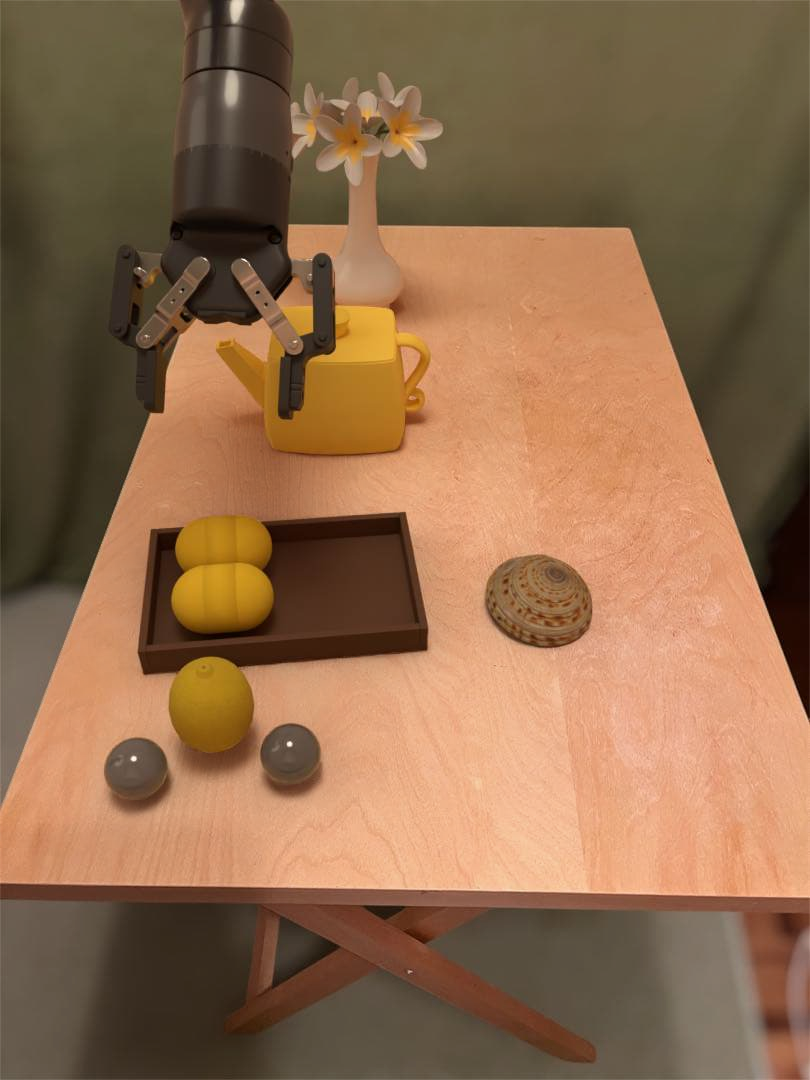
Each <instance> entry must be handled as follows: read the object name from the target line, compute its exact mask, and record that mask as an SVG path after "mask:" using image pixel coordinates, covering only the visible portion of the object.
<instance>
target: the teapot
mask: <svg viewBox="0 0 810 1080" xmlns="http://www.w3.org/2000/svg"><path fill="white" fill-rule="evenodd" d="M280 309H281V310H282V312H283V313H284V315H285V316H286V318H287V319H288V321H289V322H290V324H291V325H292V327H293V328H294V329H295V331H296V332H297V334H298V335H299V336H302V335H305V334H308V333H312V332H313V305H301V306H300V305H297V306H296V305H295V306H285V307H280ZM335 315H336V348H335V351H334V352H333V353H332V354H330V355H324V354H323V355H319V356H316V357H313V358H311V359H310V360H309V361H308V362H307V364H306V372H305V392H304V405H303V407H302V409H301V411H294V415H293V420H285V419H281V418H280V417H279V416H278V396H279V376H280V357H284V355H285V349H284V348H283V346H282V345H281V343H280V342H279V340H278V339H277V338H276V336H275V335H274V333H273V332H272V331H271V333H270V338H269V343H268V344H269V346H268V351H267V358H266V361H263V360H262V359H261V358H259V357H258V356H257V355H255V354H254V353H252V352H251V351H249V350H248V349H247V348H246V347H244V346H242V345H241V344H240V343H238V342H237V341H236V339H235V338H229V339H224V340H218V341H216V342H215V352H216V354H218V357H220V359H222V361H223V362H224V363H225V365H226V366H227V367H228V368H229V369H230V371H231V372H232V373H233V374H234V375H235V377H236V378H237V379H238V381H239V382H240V383H241V384H242V386H243V387H244V388H245V389H246V390H247V392H248V393H249V394H250V395H251V396H252V398H253V399H254V401H255V402H256V403H257V404H258V405H259V407H260V408H261V409H263V415H264V417H263V418H264V420H263V421H264V430H265V433H266V436H267V439H268V441H269V443H270V446H271V447H272V449H273V450H276V451H278V452H284V453H294V454H309V455H310V454H311V455H330V456H331V455H336V456H337V455H338V456H339V455H357V454H358V455H359V454H362V455H363V454H375V453H376V454H377V453H386V452H391V451H395V450H397V449H399V447H400V445H401V442H402V440H403V436H404V433H405V429H406V428H405V427H406V426H405V425H406V413H414V412H418V411H420V410H421V409H422V408H423V407H424V405H425V402H426V395H425V392H424V391H423V390H422V389H421V388H419V387H417V386H418V385H419V384H420V382H421V381H422V380H423V378H424V377H425V374H426V373H427V371H428V369H429V366H430V363H431V352H430V351H431V350H430V348H429V346H428V345H427V344H426V342H425V341H424V340H423V339H422V338H420V337H419V336H417V335H415V334H413V333H409V332H399V331H398V326H397V321H396V317H395V316H396V315H395V313H394V311H393V310H392V309H390V308H389V309H387V308H380V307H366V306H338V305H335ZM401 347H407V348H411V349H413V350H415V351H417V353H419V360H418V362H417V364H416V366H415V368H414V369H413V371H412V372H411V374H410V375H409V376H408V378H407V379H406V381H405V370H404V363H403V361H404V360H403V354H402V348H401ZM410 397H416V398H415V399H409V398H410Z"/></svg>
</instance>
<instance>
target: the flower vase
mask: <svg viewBox="0 0 810 1080" xmlns="http://www.w3.org/2000/svg"><path fill="white" fill-rule="evenodd" d="M377 84H378V87H379V91H380V96H381V97H379V96H376V95H375V94H376V91H375V89H369V90H367V91H363V92H360V94H359V81H358V78H357V77H355V76H354V77H350V78H349V79H348V80H347V82H346V83H345V85H344V87H343V89H342V93H341V99H337V98H336V99H328V100H324V99H325V97H324V95H325V94H324V92H323V91H321V92H319V94H318V96H317V98H316V95H315V92H314V88H313V86H312V84H311V83H310V82H308V83H306V85H305V88H304V94H303V106H304V109H305V111H306V113H307V114H305V113H301V107H300V105H299V103H298V102H297V101H294V102H293V103H291V121H292V132H293V149H292V155H293V158H294V160H296V159H297V158H298V157H299V156H300V155H302V154H303V151H304V150H306V149H307V147H308V148H312V147H313V145H314V143H315V142H316V140H317V139H319V138H320V137H322V138H324V139H325V140H326V141H328V142H331V143H332V144H329V145H328V146H326V147H325V148H324V149H323V150H322V151H321V152H320V153H319V154H318V156H317V158H316V160H315V167H316V169H317V171H319V172H322V173H324V172H325V173H326V172H331V171H332V170H335V169H336V168H338V167H339V166H341V165H342V164H343V163H344V167H343V168H344V173H345V176H346V178H347V180H348V181H347V182H348V217H347V229H346V235H345V238H344V242H343V245H342V247H341V249H340V250H339V252H337V253H336V255H334V257H332V258H331V261H332V264H333V267H334V271H335V304H336V306H366V307H380V308H387V309H390V307H391V304H392V303H394V302H395V301H396V300H397V299H398V297H399V296H400V294H401V293H402V291H403V289H404V284H405V279H404V275H403V272H402V269H401V266H400V264H399V263H398V261H396V259H395V258H394V257H393V256H392V255H390V253H388V252H387V250H386V248H385V246H384V244H383V242H382V240H381V239H382V238H381V236H380V230H379V224H378V222H379V221H378V208H377V207H378V206H377V178H378V177H377V176H378V169H379V168H378V167H379V162H380V155H381V153H382V154H383V155H384V156H385V157H386V158H391V159H392V158H395V157H396V156H398V155H399V154H400V153H401V152H402V151H404V152H405V154H406V155H407V157H408V158H409V159H410V162H411V163H412V164H413V165H414V166H415V167H416V168H417V169H419V170H424V169H427V166H428V158H427V153H426V151H425V148H424V146H423V145H422V144H421V142H423V141H424V142H425V141H431V140H434V139H437V138H438V137H440V136H441V135H442V134H443V131H444V126H443V124H442V123H441V122H440V121H439V120H437V119H436V118H435V119H434V118H428V117H423V116H422V115H420V112H421V108H422V93H421V91H420V89H419V87H416V86H415V85H407V86H406V87H404V88H402V89H401V90H400V91H399V92H398V93H397V95H396V96H395V94H396V93H395V88H394V85H393V84H392V81H391V80H390V79H389V77H388V76H387V75H386V74H385V73H384V72H382V71H379V72H378V73H377ZM382 121H383V122H382ZM381 122H382V124H381V125H380V126H379V127H378V129H377V130H376V133H375V134H374V135H372V134H371V133H370V132H371V129H372V128H373V127H375V126H376V125H378V124H379V123H381ZM387 127H388V129H386V128H387ZM363 129H364V131H363ZM384 134H386V136H385V138H384V140H382V139H381V135H384Z"/></svg>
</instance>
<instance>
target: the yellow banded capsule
mask: <svg viewBox="0 0 810 1080" xmlns="http://www.w3.org/2000/svg"><path fill="white" fill-rule="evenodd" d="M183 527H184V528H183V529H182V531H181V532H180V534H179V536H178V538H177V541H176V546H175V552H176V558H177V561H178V563H179V565H180V566H181V568H182V569H183V570H184V572H187V571H188V570H190V569H192V568H194V567H197V566H202V565H213V564H226V563H246V564H250V565H253V566H255V567H257V568H258V569H260V570H261V571H262V570H263V569H264V568H265V566H266V565H267V564H268V562H269V560H270V557H271V553H272V541H271V537H270V534H269V532H268V531H267V529H266V527H265V526H264V525H263V524H262V523H261V521H259V520H258V519H257V518H254V517H252V516H251V515H246V514H227V515H226V514H225V515H211V516H202V517H198V518H195V519H193V520H192V521H190V522H188V523H187V524H186V525H185V526H183Z"/></svg>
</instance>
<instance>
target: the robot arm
mask: <svg viewBox="0 0 810 1080" xmlns="http://www.w3.org/2000/svg"><path fill="white" fill-rule="evenodd" d="M178 4H179V7H180V8H179V9H180V11H181V16H182V21H183V26H184V39H183V51H182V52H183V55H182V71H181V89H180V97H179V102H178V107H177V112H176V117H175V127H174V140H173V141H174V143H173V144H174V145H173V162H172V177H171V178H172V182H171V196H170V197H171V198H170V214H169V215H170V216H169V237H168V238H169V239H168V242H167V245H166V247H165V248H164V250H163V252H162V253H157V252H148V251H147V252H145V251H138V250H136V248H135V247H134V246H132V245H130V244H128V243H127V244H123V245H121V246H120V247H119V248H118V249H117V251H116V259H115V266H114V267H115V268H114V269H115V270H114V276H113V285H112V292H111V300H110V301H111V302H110V309H109V318H108V328H107V330H108V332H109V334H110V335H111V336H112V337H114V338H115V339H116V340H118V341H119V342H120V343H122V344H123V345H125V346H126V347H131V348H132V349H135V350H136V355H137V356H136V372H135V374H136V375H135V391H134V392H135V394H136V398H137V400H138V401H139V402H141V403H143V407H144V410H146V411H147V412H149V413H150V414H163V413H164V412H165V403H166V384H167V368H168V367H167V366H168V358H167V357H165V356H164V355H165V353H166V351H167V350H168V349H169V348H170V346H172V344H173V343H174V342H175V341H176V340H177V338H178V337H179V336H180V335H183V334H184V333H186V332H187V331H188V330H189V328H190V327H191V326H192V325H193V324H194V322H195V321H196V320H198V321H200V322H202V323H203V324H204V325H220V324H224V323H231V324H234V325H237V326H245V327H252V326H253V324H254V323H257V322H260V320H261V319H263V320H264V322H265V323H266V325H267V326H268V328H269V329H270V330H271V332H273V333H274V335H275V336H276V338H277V339H278V340H279V342H280V343H281V345H282V346H283V348H284V349H285V355H284V357H280V376H279V396H278V416H279V417H280V418H281V419H285V420H293V415H294V411H301V409H302V407H303V405H304V392H305V372H306V364H307V362H308V361H309V360H310V359H311V358H313V357H316V356H319V355H323V354H324V355H330V354H332V353H333V352H334V351H335V348H336V315H335V306H336V303H335V271H334V267H333V264H332V261H331V260H332V258H331V256H330V255H329V254H328V253H326V252H318V253H316V254H315V255H314V256H313V258H291V257H290V253H289V249H288V247H289V246H288V245H289V242H288V241H289V227H290V226H289V225H290V224H289V223H290V206H291V205H290V204H291V187H292V186H291V185H292V174H293V170H294V161H295V159H294V158H293V155H292V150H293V132H292V121H291V105H292V88H293V72H294V71H293V67H294V30H293V27H292V26H293V25H292V23H291V20H290V17H289V15H288V13H287V12H286V9H284V8H283V6H282V5H281V4H280V3H279V2H278V1H277V0H178ZM159 274H163V275H164V276H165V278H166V279H167V281H168V283H169V284H170V286H171V288H170V289H169V291H168V292H167V293H166V294H165V295H164V296H163V298H162V299H161V300H160V301H159V302H158V303H157V305H156V307H155V310H154V312H153V315H151V317H150V318H149V319H148V320H147V322H146V323H145V324H144V325H143V326H142V327H141V324H142V323H141V322H142V315H143V307H144V299H145V298H144V297H145V289H147V288H150V287H151V286H152V285H153V284H154V282H155V278H156V277H157V276H158V275H159ZM294 278H295V279H298V280H299V281H300V282H301V285H302V287H303V291H304V292H305V293H306V294H308V295H311V296H312V306H313V332H312V333H308V334H305V335H302V336H299V335H298V334H297V332H296V331H295V329H294V328H293V327H292V325H291V324H290V322H289V321H288V319H287V318H286V316H285V315H284V313H283V312H282V310H281V309H280V308H281V307H280V306H279V304H278V303H277V301H278V299H279V298H280V297H281V296H282V294H284V293H285V290H287V288H288V287H289V286H290V284H291V283H292V281H293V279H294Z"/></svg>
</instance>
